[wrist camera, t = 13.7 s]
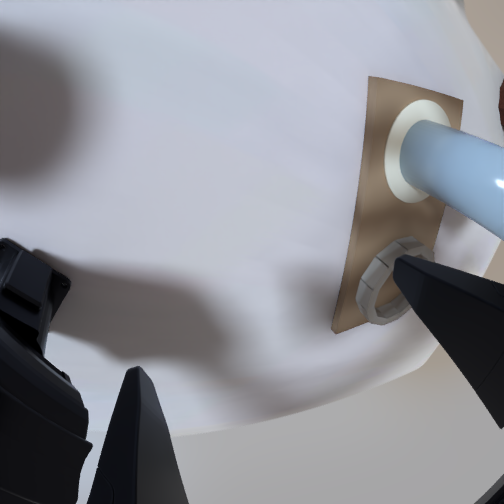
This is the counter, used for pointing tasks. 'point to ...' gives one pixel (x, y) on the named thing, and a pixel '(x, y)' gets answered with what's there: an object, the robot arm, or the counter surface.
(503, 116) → the muffin
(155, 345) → the counter surface
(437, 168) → the pale blue cylinder
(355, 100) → the counter surface
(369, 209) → the tan flat slab
